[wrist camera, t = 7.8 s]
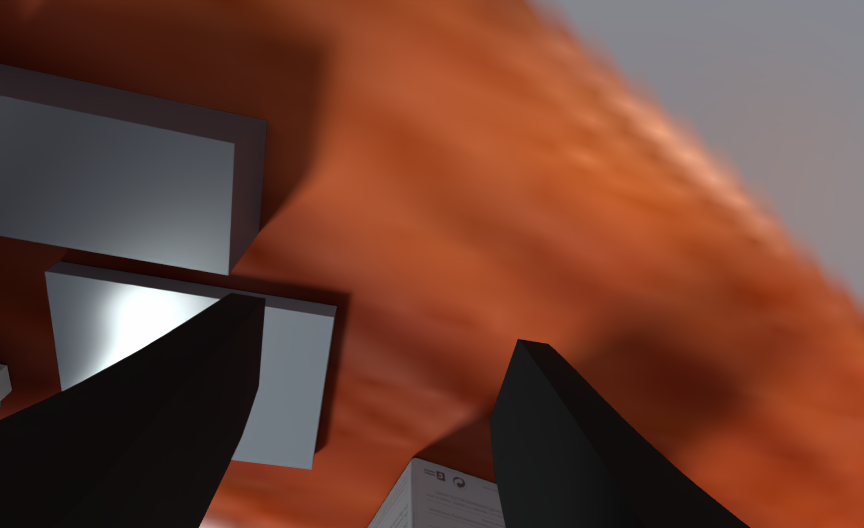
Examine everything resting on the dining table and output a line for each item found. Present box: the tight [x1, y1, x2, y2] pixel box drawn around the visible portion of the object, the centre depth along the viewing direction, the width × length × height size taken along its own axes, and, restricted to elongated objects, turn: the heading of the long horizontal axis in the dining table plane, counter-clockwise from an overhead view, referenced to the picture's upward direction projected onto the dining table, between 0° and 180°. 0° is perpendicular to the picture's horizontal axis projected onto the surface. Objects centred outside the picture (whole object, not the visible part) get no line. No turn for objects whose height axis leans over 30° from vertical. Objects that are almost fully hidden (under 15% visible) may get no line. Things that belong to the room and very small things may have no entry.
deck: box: [45, 261, 337, 469], centre depth 20 cm, size 8×10×1 cm
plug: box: [0, 64, 267, 275], centre depth 15 cm, size 4×8×4 cm, turn 77°
